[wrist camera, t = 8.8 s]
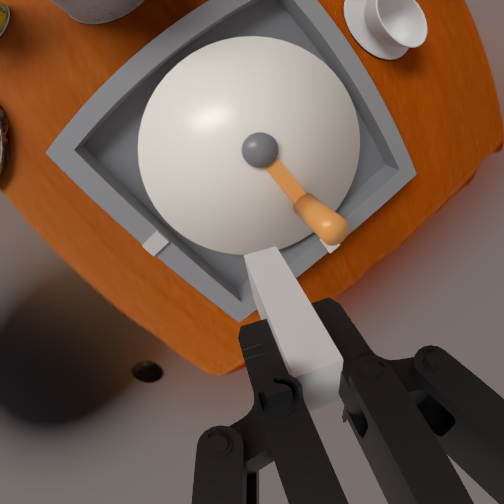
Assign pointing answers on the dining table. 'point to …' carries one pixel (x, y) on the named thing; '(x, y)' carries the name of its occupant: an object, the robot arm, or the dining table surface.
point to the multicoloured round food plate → (3, 140)
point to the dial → (250, 146)
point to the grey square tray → (134, 104)
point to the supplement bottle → (4, 17)
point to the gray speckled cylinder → (97, 9)
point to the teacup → (386, 26)
